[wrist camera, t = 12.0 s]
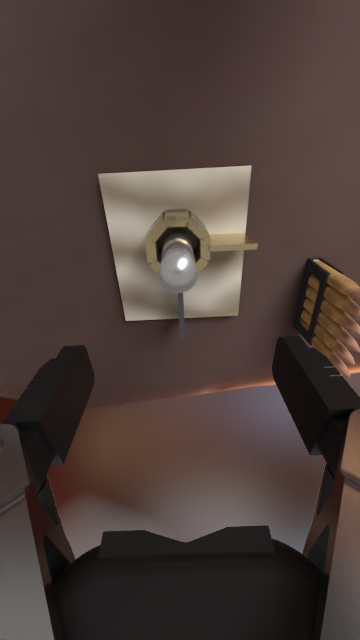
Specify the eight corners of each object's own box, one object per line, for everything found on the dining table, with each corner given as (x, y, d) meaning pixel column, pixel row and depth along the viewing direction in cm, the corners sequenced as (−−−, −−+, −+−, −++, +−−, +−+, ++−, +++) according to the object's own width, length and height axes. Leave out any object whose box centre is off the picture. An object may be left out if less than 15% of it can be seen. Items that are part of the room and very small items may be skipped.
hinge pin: (163, 226, 28) (156, 256, 18) (189, 225, 28) (197, 254, 18) (165, 252, 30) (160, 293, 19) (190, 251, 30) (198, 292, 19)
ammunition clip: (307, 258, 32) (370, 298, 22) (321, 257, 32) (391, 296, 22) (293, 326, 37) (338, 384, 27) (305, 325, 37) (355, 383, 27)
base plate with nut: (101, 173, 27) (82, 173, 21) (247, 166, 26) (267, 163, 21) (127, 315, 36) (118, 341, 30) (235, 310, 36) (246, 335, 30)
